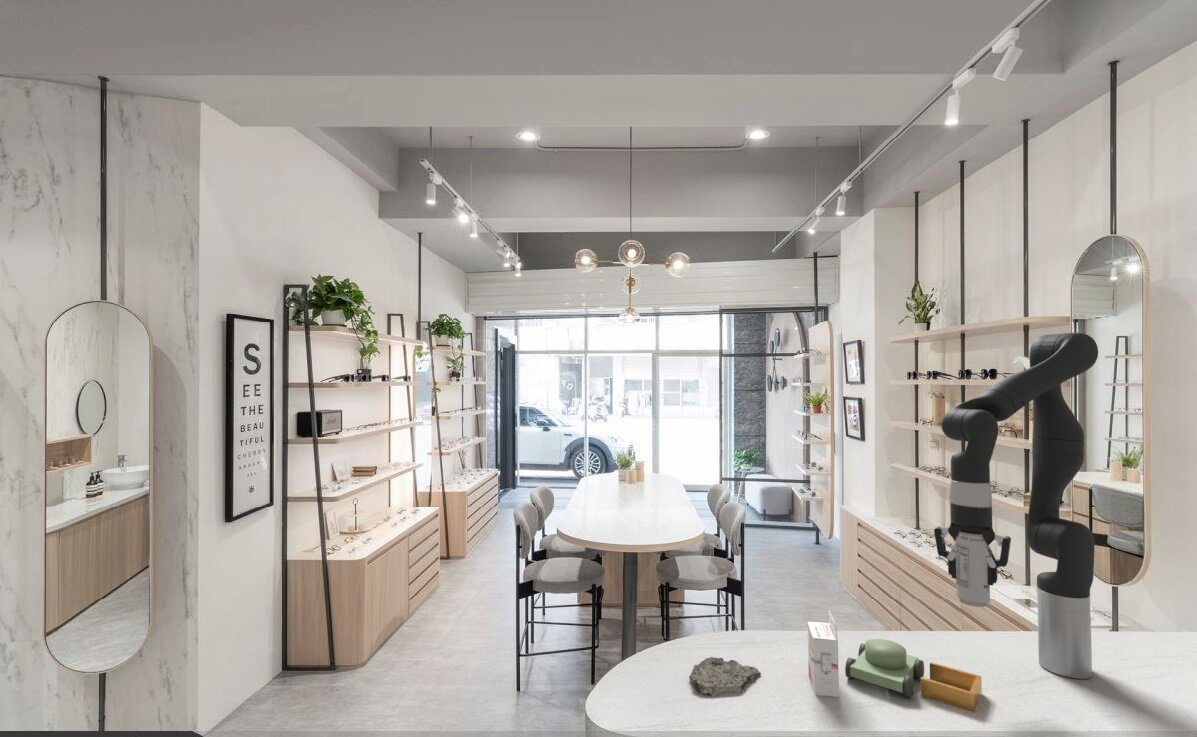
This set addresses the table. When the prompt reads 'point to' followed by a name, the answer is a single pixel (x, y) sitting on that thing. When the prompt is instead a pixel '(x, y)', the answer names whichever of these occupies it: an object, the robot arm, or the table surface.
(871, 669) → the green toy car
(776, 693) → the table surface
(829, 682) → the ink cartridge box
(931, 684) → the bracket
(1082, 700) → the table surface
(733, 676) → the stone slab
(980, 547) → the energy drink can
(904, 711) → the table surface
